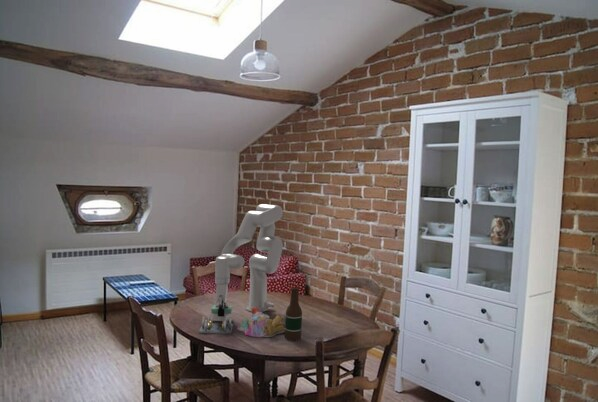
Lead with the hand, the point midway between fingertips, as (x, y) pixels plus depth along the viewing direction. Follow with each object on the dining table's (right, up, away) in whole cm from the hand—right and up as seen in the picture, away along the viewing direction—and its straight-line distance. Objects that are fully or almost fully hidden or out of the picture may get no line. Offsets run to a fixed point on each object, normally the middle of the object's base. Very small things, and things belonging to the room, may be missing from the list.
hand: (221, 313), depth 233 cm
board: (0, +1, 0) cm, 1 cm away
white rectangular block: (-1, -3, 0) cm, 3 cm away
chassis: (0, -4, -15) cm, 16 cm away
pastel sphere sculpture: (+21, -5, -12) cm, 25 cm away
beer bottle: (+37, -6, -23) cm, 44 cm away
